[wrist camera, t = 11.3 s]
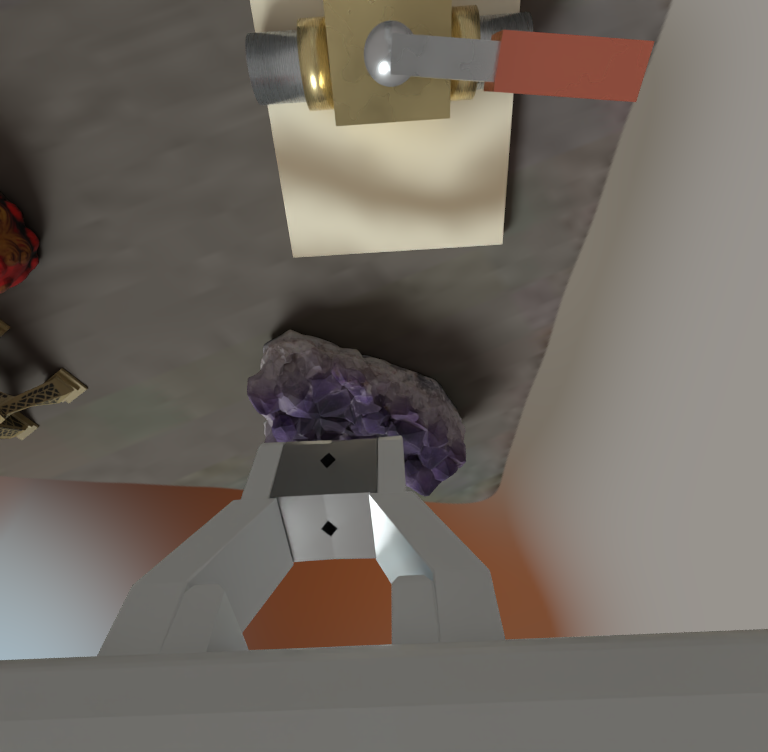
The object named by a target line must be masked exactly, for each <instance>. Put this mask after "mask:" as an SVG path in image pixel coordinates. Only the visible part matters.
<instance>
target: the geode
mask: <svg viewBox="0 0 768 752" xmlns="http://www.w3.org/2000/svg"><path fill="white" fill-rule="evenodd" d="M263 354H264V355H263V357H262V359H261V370H260V371H259V372H258V373H257V374H256V375H254V376H251V377H249V378H248V386H247V395H248V397H249V400H250V401H251V403H252V404H253V406H254V408H255V409H256V411H257V412H258V413H259V414H261V415H263V416H264V417H265V418H266V421H265V423H264V426H265V430H264V434H265V435H266V439H265V442H264V443H274V442H295V441H328V440H349V439H366V438H379V437H387V436H402V438H403V450H404V466H405V482H406V486H408V487H410V488H412V489H413V490H415V491H416V492H418V493H419V494H421V495H424V496H429V495H430V494H431V493H432V492H433V490H434V489H435V488H436V487H437V486H438V485H439V484H440V483H441V482H442V481H444V480H446V479H447V478H449V477H450V476H452V475H453V474H454V473H455V472H456V471H457V469H458V468H460V467H461V466H462V465H463V464H464V463H465V462H466V449H465V444H464V434H465V432H466V431H465V426H464V425H463V424H462V422H461V420H462V419H461V417H460V416H459V414H458V411H457V408H456V406H455V405H454V404H453V403H452V401H451V400H450V398H449V397H448V396H447V394H446V393H445V391H444V390H443V388H442V386H441V385H440V384H439V383H438V382H437V381H436V380H435V379H433V378H430V377H426V376H423V375H421V374H419V373H417V372H414V371H411V370H407V369H404V368H401V367H398V366H395V365H392V364H390V363H388V362H387V361H385V360H382V359H377V358H374V357H371V356H367V355H361V354H360V352H359V351H358V350H357V349H350V348H340V347H339V346H337V345H336V344H334V343H331V342H329V341H326V340H323V339H320V338H317V337H313V336H308V335H302V334H300V333H298V332H295V331H293V330H288V331H286V332H285V333H283V334H282V335H280V336H279V337H277V338H275V339H272V340H270V341H269V342H267V343H266V344H265V345H264V347H263Z"/></svg>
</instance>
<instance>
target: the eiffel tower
mask: <svg viewBox="0 0 768 752" xmlns="http://www.w3.org/2000/svg"><path fill="white" fill-rule="evenodd" d="M10 328H11V327H10V326H8V325H7V324H6V323H4V322H3V321H2V320H1V319H0V337H1V336H2V335H3V334H4V333H5V332H6V331H7V330H9V329H10ZM87 389H88V388H87V387H86V386H85V385H83V384H82V383H81V382H80V381H78V380H77V379H76V378H75V377H73V376H72V375H71V374H69V373H68V372H67V371H66V370H64V369H63V368H62V369H60V370H59V371H58V372H57V373H56V374H54V375H53V376H52V377H51V378H50V379H48V380H47V381H46V382H45V383H44V384H42V385H40V386H37V387H35V388H33V389H31V390H28V391H26V392H24V393H22V394H20V395H17V396H11V395H7V394H5V393H2V392H0V439H9V438H13V437H15V436H16V437H17V438H19V439H20V440H23V439H24V438H26V437H27V436H28V435H29V434H31V433H32V432H33V431H35V430H36V429H37V428H38V427H39V426H38V425H37V424H35V423H34V422H32V421H31V420H30V419H28V418H27V417H25V416H24V415H23V414H21V413H20V412H18V411H21V410H23V409H26V408H28V407H31V406H38V405H47V404H55V403H60V402H61V401H62V402H64V401H66V402H68V403H70V402H71V401H73V400H74V399H75V398H76V397H78V396H79V395H80V394H82V393H83V392H84V391H85V390H87Z"/></svg>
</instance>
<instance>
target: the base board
mask: <svg viewBox="0 0 768 752" xmlns="http://www.w3.org/2000/svg"><path fill="white" fill-rule="evenodd" d="M250 3H251V9H252V15H253V21H254V27H255V33H258V32H271V31H285V30H297V20H298V18H309V17H322V16H325V15H324V5H323V0H250ZM465 5H477V7H478V10H479V16H481V15H494V14H507V13H520V0H452V6H465ZM483 90H484V89H480V90H476V92H475V96H474V98H473V99H472V100H459V101H450V118H447V119H433V120H419V121H405V122H390V123H376V124H362V125H348V126H336V122H335V112H334V109H333V110H319V111H310V110H309V108H308V106H307V102H300V103H286V104H272V105H268V110H269V116H270V122H271V128H272V134H273V140H274V146H275V152H276V158H277V163H278V169H279V175H280V181H281V187H282V193H283V199H284V205H285V211H286V217H287V223H288V229H289V235H290V241H291V246H292V252H293V258H294V257H309V256H325V255H341V254H357V253H373V252H389V251H404V250H420V249H436V248H452V247H468V246H483V245H499V244H502V241H503V227H504V214H505V201H506V187H507V174H508V160H509V147H510V133H511V120H512V107H513V93H502V92H488V91H483Z"/></svg>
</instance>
